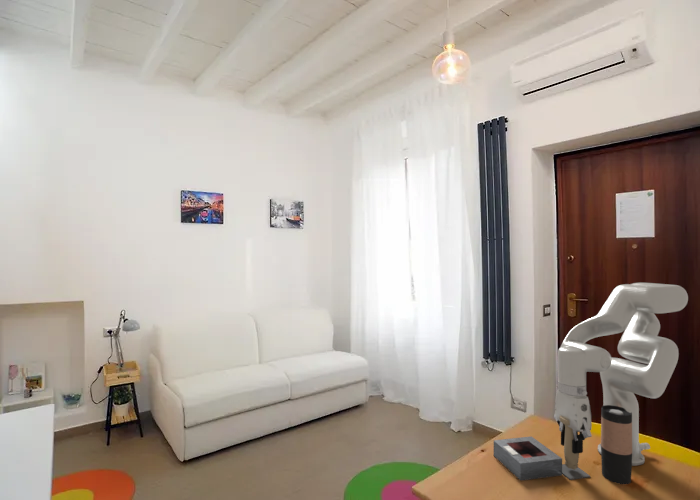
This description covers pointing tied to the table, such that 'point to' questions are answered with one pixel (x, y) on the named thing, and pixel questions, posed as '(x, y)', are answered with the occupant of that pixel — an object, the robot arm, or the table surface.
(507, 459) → the grey shallow box
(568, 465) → the handle
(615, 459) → the travel mug
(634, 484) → the table surface
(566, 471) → the mat
